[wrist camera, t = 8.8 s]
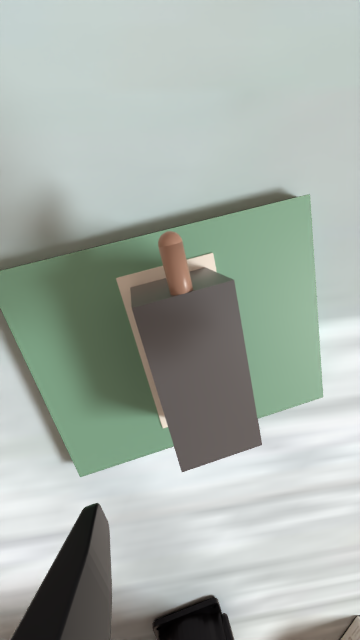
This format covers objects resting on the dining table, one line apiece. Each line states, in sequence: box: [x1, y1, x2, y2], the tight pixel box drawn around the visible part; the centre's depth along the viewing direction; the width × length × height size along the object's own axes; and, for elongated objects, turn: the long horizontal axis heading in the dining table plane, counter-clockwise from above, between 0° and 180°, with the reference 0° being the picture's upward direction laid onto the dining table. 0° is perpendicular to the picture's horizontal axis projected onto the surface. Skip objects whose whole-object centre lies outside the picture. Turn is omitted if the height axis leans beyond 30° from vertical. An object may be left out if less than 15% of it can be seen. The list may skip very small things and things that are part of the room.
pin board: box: [0, 194, 323, 477], centre depth 16 cm, size 18×14×4 cm
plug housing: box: [130, 231, 262, 472], centre depth 15 cm, size 4×12×4 cm, turn 13°
